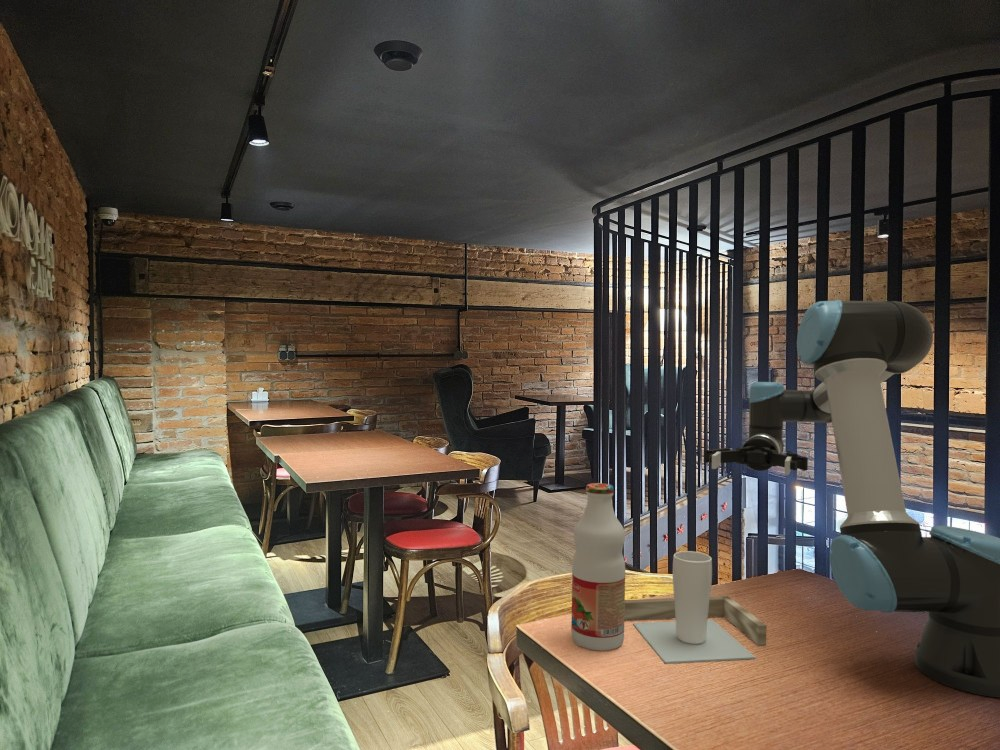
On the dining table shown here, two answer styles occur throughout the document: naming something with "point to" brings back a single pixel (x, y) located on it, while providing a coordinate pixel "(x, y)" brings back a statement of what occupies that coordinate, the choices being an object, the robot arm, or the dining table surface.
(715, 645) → the pad
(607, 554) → the fruit juice
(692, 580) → the drinking glass
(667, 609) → the birch walls
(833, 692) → the dining table surface
